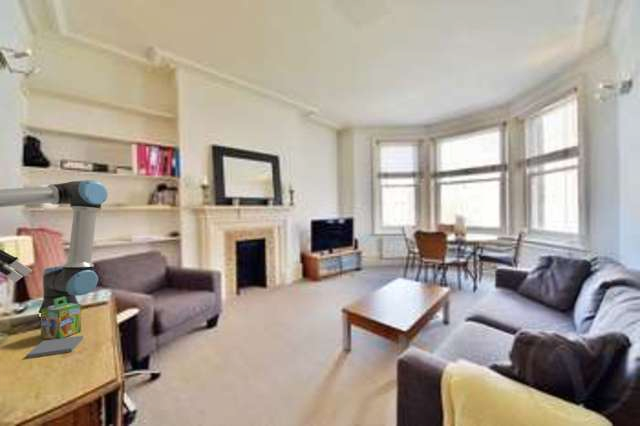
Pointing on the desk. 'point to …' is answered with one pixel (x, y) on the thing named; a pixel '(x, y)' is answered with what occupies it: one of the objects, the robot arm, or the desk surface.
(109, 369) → the desk surface
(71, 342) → the charcoal mat
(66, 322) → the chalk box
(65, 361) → the desk surface
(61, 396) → the desk surface
